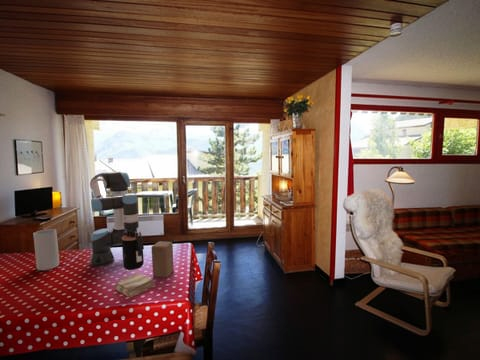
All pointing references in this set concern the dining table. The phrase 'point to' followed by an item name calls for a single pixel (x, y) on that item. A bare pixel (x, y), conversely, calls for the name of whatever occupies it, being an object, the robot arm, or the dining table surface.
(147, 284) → the plinth
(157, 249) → the wooden block
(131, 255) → the coffee jar
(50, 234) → the cylinder vase
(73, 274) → the dining table surface
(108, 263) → the robot arm
